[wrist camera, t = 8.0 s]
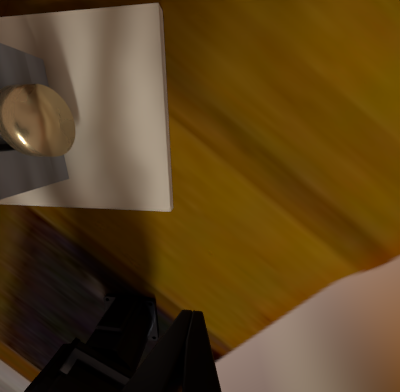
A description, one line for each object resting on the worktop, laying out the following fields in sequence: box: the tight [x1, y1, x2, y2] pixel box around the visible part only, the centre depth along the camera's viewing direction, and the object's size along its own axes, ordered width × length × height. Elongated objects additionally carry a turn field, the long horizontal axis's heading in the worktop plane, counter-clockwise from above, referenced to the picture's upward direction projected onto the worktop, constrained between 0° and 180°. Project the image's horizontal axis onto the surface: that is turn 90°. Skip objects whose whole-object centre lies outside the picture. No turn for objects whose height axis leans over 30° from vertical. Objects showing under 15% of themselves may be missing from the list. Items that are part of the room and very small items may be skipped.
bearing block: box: [0, 3, 173, 212], centre depth 15 cm, size 22×16×7 cm
